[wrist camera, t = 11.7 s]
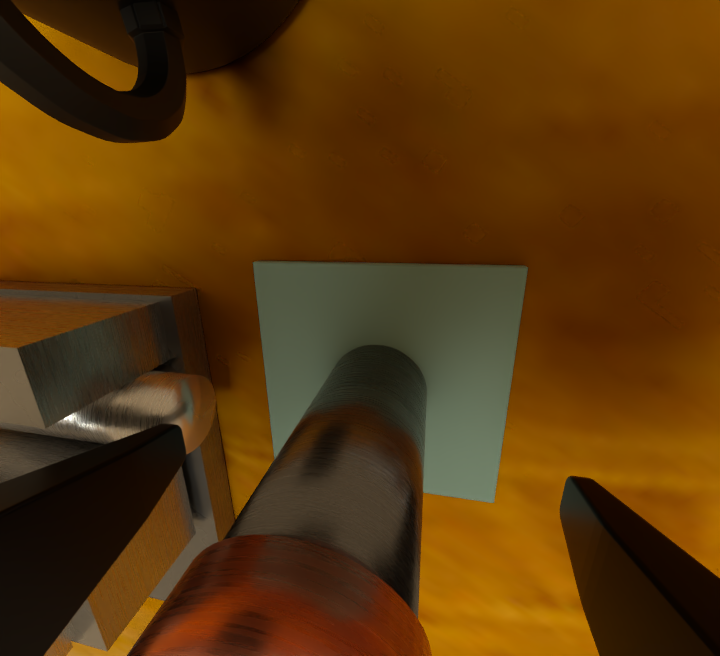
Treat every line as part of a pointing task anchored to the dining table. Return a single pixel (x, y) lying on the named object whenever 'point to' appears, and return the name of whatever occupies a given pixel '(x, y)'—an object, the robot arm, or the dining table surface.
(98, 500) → the robot arm
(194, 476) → the clamp base
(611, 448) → the dining table surface
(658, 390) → the dining table surface
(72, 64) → the mug
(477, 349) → the mat
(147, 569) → the bracket
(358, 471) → the round metal peg
